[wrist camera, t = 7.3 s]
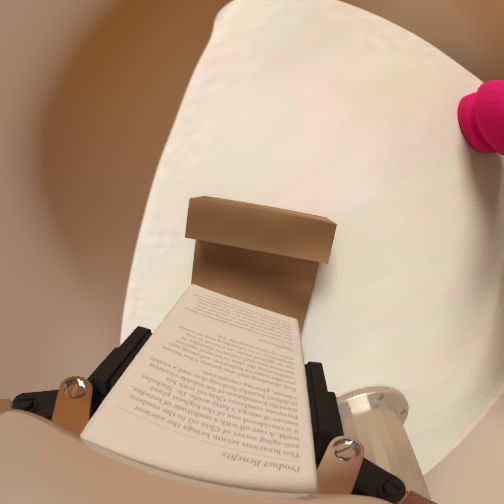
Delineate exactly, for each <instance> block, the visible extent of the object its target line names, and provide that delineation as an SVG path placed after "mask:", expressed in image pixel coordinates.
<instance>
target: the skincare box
mask: <svg viewBox="0 0 504 504" xmlns="http://www.w3.org/2000/svg"><path fill="white" fill-rule="evenodd" d="M80 437H81V438H83V439H86V440H88V441H90V442H92V443H94V444H97V445H99V446H101V447H103V448H105V449H107V450H109V451H112V452H114V453H116V454H118V455H121V456H123V457H126V458H128V459H131V460H133V461H136V462H138V463H141V464H144V465H147V466H150V467H152V468H155V469H158V470H162V471H165V472H168V473H171V474H175V475H178V476H182V477H186V478H189V479H193V480H197V481H202V482H206V483H211V484H216V485H221V486H227V487H233V488H239V489H246V490H254V491H263V492H275V493H291V494H318V484H317V471H316V463H315V452H314V441H313V432H312V424H311V414H310V406H309V398H308V390H307V381H306V373H305V366H304V357H303V351H302V344H301V336H300V330H299V324H298V321H297V319H295V318H291V317H288V316H285V315H282V314H278V313H275V312H272V311H269V310H266V309H263V308H260V307H257V306H254V305H251V304H248V303H245V302H242V301H239V300H236V299H233V298H230V297H227V296H224V295H222V294H219V293H216V292H213V291H210V290H208V289H205V288H202V287H200V286H197V285H194V284H191V285H190V286H189V287H188V289H187V290H186V291H185V293H184V294H183V295H182V296H181V298H180V299H179V300H178V302H177V303H176V304H175V305H174V307H173V308H172V309H171V311H170V312H169V313H168V315H167V316H166V317H165V319H164V320H163V321H162V323H161V324H160V325H159V326H158V327H157V329H156V330H155V331H154V333H153V334H152V335H151V337H150V338H149V339H148V340H147V342H146V343H145V344H144V346H143V347H142V348H141V350H140V351H139V353H138V354H137V355H136V356H135V358H134V359H133V361H132V362H131V363H130V365H129V366H128V367H127V369H126V370H125V372H124V373H123V374H122V376H121V377H120V378H119V380H118V381H117V382H116V384H115V385H114V387H113V388H112V389H111V391H110V392H109V393H108V395H107V396H106V398H105V399H104V400H103V402H102V403H101V405H100V406H99V408H98V409H97V411H96V412H95V414H94V415H93V417H92V418H91V419H90V421H89V422H88V423H87V425H86V426H85V428H84V430H83V431H82V433H81V434H80Z"/></svg>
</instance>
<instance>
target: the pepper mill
mask: <svg viewBox="0 0 504 504" xmlns="http://www.w3.org/2000/svg"><path fill="white" fill-rule="evenodd" d="M458 119H459V123H460V127H461V129H462V132H463V134H464V136H465V138H466V139H467V141H468V142H469V143H470V145H471V146H472V147H473V148H474V149H475V150H477V151H479V152H481V153H496V152H498V153H500V154H502V155H504V80H493V81H489V82H485V83H483V84H482V85H481V86H480V87H479V88H478V91H477V92H475V93H472V94H469V95H467V96H465V97H463V98H462V99H461V101H460V103H459V107H458Z"/></svg>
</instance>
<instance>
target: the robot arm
mask: <svg viewBox="0 0 504 504" xmlns="http://www.w3.org/2000/svg"><path fill="white" fill-rule="evenodd" d="M152 334H153V333H151V330H150V329H147V328H144V327H140V326H138V327H137V328H136V329H135V330H134V331H133V332H132V333H131V335H130V336H129V337H128V338H127V339H126V340H125V341H124V342H123V343H122V344H121V346H120V347H119V348H115V349H114V350H113V351H112V352H111V353H110V354H109V355H108V356H107V357H106V359H105V360H104V361H103V362H102V363H101V364H100V365H99V366H98V368H97V369H96V370H95V371H94V372H93V373H92V375H90V377H89V378H88V379H85V378H83V377H79V376H72V377H68V378H66V379H65V380H64V381H62V383H61V385H60V388H59V390H52V391H42V392H32V393H22V394H20V395H18V396H16V398H15V399H14V400H13V401H11V399H0V504H437V503H435V502H433V501H431V498H430V495H429V492H428V489H427V486H426V483H425V481H424V478H423V475H422V472H421V469H420V467H419V464H418V461H417V459H416V456H415V454H414V451H413V449H412V446H411V444H410V441H409V439H408V436H407V434H406V431H405V429H404V427H403V423H404V422H405V420H406V418H407V415H408V409H409V407H408V403H407V401H406V399H405V397H404V396H403V395H402V394H401V392H399V391H397V390H395V389H392V388H388V387H372V388H366V389H361V390H357V391H354V392H351V393H348V394H346V395H344V396H342V397H339V398H337V399H336V396H335V393H334V392H328V391H327V386H326V381H325V376H324V372H323V367H322V363H317V362H308V364H304V366H305V373H306V381H307V390H308V398H309V406H310V414H311V424H312V432H313V441H314V452H315V463H316V471H317V484H318V494H291V493H275V492H263V491H254V490H246V489H239V488H233V487H227V486H221V485H216V484H211V483H206V482H202V481H197V480H193V479H189V478H186V477H182V476H178V475H175V474H171V473H168V472H165V471H162V470H158V469H155V468H152V467H150V466H147V465H144V464H141V463H138V462H136V461H133V460H131V459H128V458H126V457H123V456H121V455H118V454H116V453H114V452H112V451H109V450H107V449H105V448H103V447H101V446H99V445H97V444H94V443H92V442H90V441H88V440H86V439H83V438H81V437H80V434H81V433H82V431H83V430H84V428H85V426H86V425H87V423H88V422H89V421H90V419H91V418H92V417H93V415H94V414H95V412H96V411H97V409H98V408H99V406H100V405H101V403H102V402H103V400H104V399H105V398H106V396H107V395H108V393H109V392H110V391H111V389H112V388H113V387H114V385H115V384H116V382H117V381H118V380H119V378H120V377H121V376H122V374H123V373H124V372H125V370H126V369H127V367H128V366H129V365H130V363H131V362H132V361H133V359H134V358H135V356H136V355H137V354H138V353H139V351H140V350H141V348H142V347H143V346H144V344H145V343H146V342H147V340H148V339H149V338H150V337H151V335H152Z"/></svg>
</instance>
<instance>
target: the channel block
mask: <svg viewBox="0 0 504 504" xmlns="http://www.w3.org/2000/svg"><path fill="white" fill-rule="evenodd" d="M336 225H337V224H335V223H334V222H332V221H331V220H329V219H328V218H325V217H321V216H316V215H311V214H306V213H301V212H295V211H290V210H285V209H280V208H274V207H269V206H263V205H257V204H251V203H245V202H239V201H233V200H227V199H221V198H214V197H207V196H202V197H195V198H190V201H189V208H188V216H187V224H186V233H185V238H191V239H196V244H195V252H194V261H193V271H192V281H191V284H194V285H197V286H200V287H202V288H205V289H208V290H210V291H213V292H216V293H219V294H222V295H224V296H227V297H230V298H233V299H236V300H239V301H242V302H245V303H248V304H251V305H254V306H257V307H260V308H263V309H266V310H269V311H272V312H275V313H278V314H282V315H285V316H288V317H291V318H295V319H297V321H298V324H299V330H300V334H301V330H302V326H303V323H304V319H305V316H306V312H307V308H308V305H309V301H310V297H311V293H312V289H313V285H314V281H315V277H316V273H317V269H318V265H319V262H322V263H327V264H328V261H329V257H330V252H331V248H332V244H333V239H334V235H335V230H336Z"/></svg>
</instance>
